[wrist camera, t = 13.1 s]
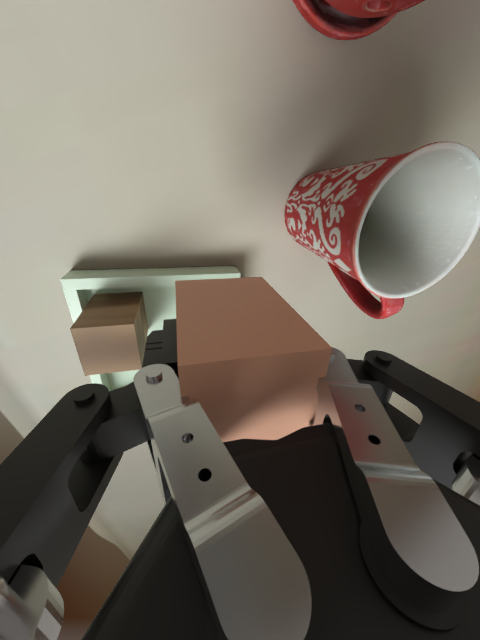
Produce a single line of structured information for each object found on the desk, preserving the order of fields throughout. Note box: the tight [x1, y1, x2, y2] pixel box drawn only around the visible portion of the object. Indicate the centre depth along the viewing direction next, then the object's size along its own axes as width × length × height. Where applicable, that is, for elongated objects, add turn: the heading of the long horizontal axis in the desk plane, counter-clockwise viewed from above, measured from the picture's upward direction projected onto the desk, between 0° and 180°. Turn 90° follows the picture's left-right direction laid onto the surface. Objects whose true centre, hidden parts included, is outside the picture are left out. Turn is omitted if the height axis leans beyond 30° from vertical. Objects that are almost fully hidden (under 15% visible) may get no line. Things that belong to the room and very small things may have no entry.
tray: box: [60, 266, 240, 391], centre depth 29 cm, size 16×16×3 cm
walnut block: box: [70, 292, 148, 376], centre depth 24 cm, size 4×4×7 cm
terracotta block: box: [175, 277, 332, 442], centre depth 11 cm, size 4×4×7 cm
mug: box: [285, 142, 480, 319], centre depth 22 cm, size 13×9×14 cm
